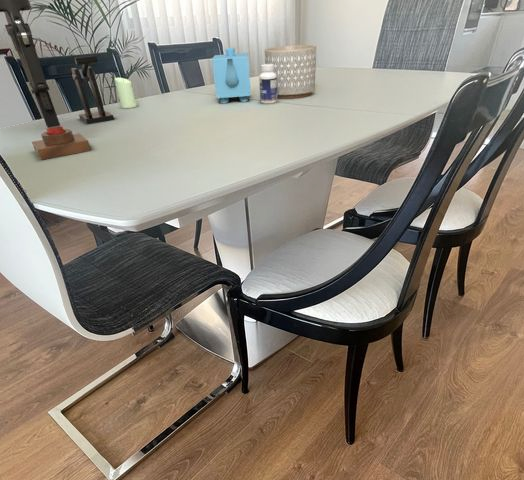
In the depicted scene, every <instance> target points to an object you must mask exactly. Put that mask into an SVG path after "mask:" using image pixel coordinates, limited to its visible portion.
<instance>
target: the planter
mask: <svg viewBox="0 0 524 480" xmlns="http://www.w3.org/2000/svg"><path fill="white" fill-rule="evenodd" d="M264 64H274V73H276V75H277V99H284V100H285V99H299V98H304V97H308V96H309V95H311V93H312V92H314V91H315V90H316V71H317V70H316V68H317V46H316V45H313V44H298V45H281V46H273V47H267V48H265V49H264Z"/></svg>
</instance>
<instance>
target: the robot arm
mask: <svg viewBox="0 0 524 480" xmlns="http://www.w3.org/2000/svg"><path fill="white" fill-rule="evenodd" d="M31 9H32V5H31V2H30V0H0V13H4V15H5V19H6V22H7V24H4V27H5V30H6V33H7V35H8V37H10V39H11V42H12V44H13V47H14V50H15V51H16V53H17V55H18V57H19V59H20V63H21V64H22V67H23V70H24V72H25V75H26V78H27V81H28V83H29V86H30V87H31V89H30V92H31V94H33V95H34V96H35V99H36V101H37V102H36V103H37V104H38V107H39V109H40V112H41V114H42V118H43V120H44V122H45V125H46V128H47V127H48V128H49V127H55V126H60V125H61V124H60V121H59V117H58V115H57V111H56V109H55V107H54V104H53V100H52V98H51V95H50V92H49V91H50V87H49V85H48V83H47V80H46V78H45V77H46V76H45V74H44V71H43V68H42V65H41V62H40V58H39V56H38V53H37V48H36V45H35V42H34V40H33V35H32V30H31V28H30V24H29V23H28V22H27V23H26V22H25V20H24V18H23V16H22V14H21V12H25V11H30V10H31Z"/></svg>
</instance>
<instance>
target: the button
mask: <svg viewBox="0 0 524 480" xmlns="http://www.w3.org/2000/svg"><path fill="white" fill-rule="evenodd" d="M64 129H65V128H64V126H63V125H61V124H60V126H55V127H49V128H48V127H47V126H46V128H45V130H46V132H47V133H48V135H54V134H60V133H64Z"/></svg>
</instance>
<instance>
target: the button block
mask: <svg viewBox="0 0 524 480" xmlns="http://www.w3.org/2000/svg"><path fill="white" fill-rule="evenodd" d="M63 129H64V133H60V134H54V135H48V133H47V131H45V132H42V133H40V136H41V139H39V140H34V141H31V144H32V146H33V149H34V151H35V153H36V154H37V155H38V157H39V158H40V160H41V161H44V160H49V159H55V158H59V157H64V156H70V155H75V154H80V153H84V152H91V151H92V150H91V149H92V148H91V145H90V144H89V140H88V139H87V138H86V137H84V135H82V134H81V133H73V131H72V130H71V129H70V128H63Z"/></svg>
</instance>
